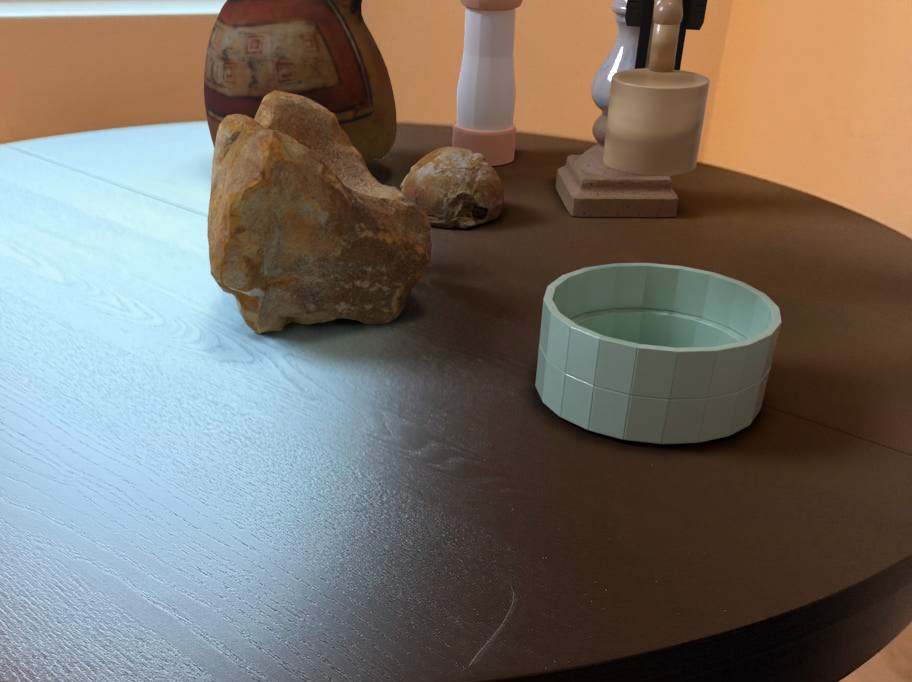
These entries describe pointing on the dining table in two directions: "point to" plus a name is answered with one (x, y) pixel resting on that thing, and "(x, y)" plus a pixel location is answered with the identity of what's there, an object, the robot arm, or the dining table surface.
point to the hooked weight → (656, 106)
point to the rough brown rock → (308, 222)
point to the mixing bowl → (655, 352)
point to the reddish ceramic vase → (301, 66)
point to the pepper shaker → (487, 81)
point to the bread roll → (455, 188)
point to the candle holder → (585, 175)
